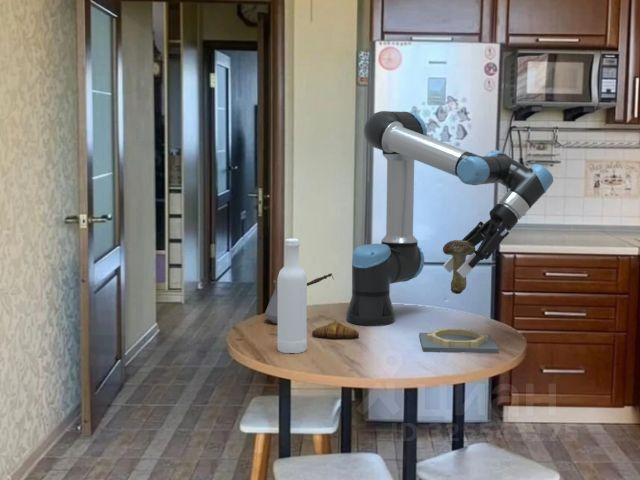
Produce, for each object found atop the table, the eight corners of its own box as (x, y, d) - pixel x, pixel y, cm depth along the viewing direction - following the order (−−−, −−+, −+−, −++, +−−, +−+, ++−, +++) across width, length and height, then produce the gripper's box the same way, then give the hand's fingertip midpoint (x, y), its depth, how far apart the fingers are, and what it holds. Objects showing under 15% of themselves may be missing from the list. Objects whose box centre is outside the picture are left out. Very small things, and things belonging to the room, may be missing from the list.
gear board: (422, 351, 210) (423, 341, 209) (419, 336, 226) (419, 327, 225) (498, 353, 208) (498, 343, 208) (489, 338, 224) (489, 328, 224)
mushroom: (451, 298, 209) (453, 243, 207) (434, 291, 217) (436, 238, 215) (481, 295, 213) (483, 241, 210) (464, 289, 221) (466, 236, 218)
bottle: (303, 354, 206) (304, 241, 202) (274, 353, 208) (274, 240, 204) (309, 346, 214) (309, 237, 210) (280, 345, 215) (280, 236, 212)
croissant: (359, 336, 227) (359, 319, 227) (358, 342, 221) (358, 324, 220) (313, 334, 229) (313, 317, 228) (310, 340, 222) (310, 323, 222)
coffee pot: (265, 326, 237) (265, 277, 235) (264, 317, 248) (264, 271, 246) (335, 325, 239) (336, 276, 237) (331, 316, 250) (331, 270, 248)
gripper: (536, 225, 207) (479, 288, 205) (498, 217, 227) (445, 274, 225) (519, 205, 205) (461, 268, 203) (482, 199, 225) (429, 256, 223)
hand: (453, 271), depth 214 cm, fingers closed on mushroom, 8 cm apart
